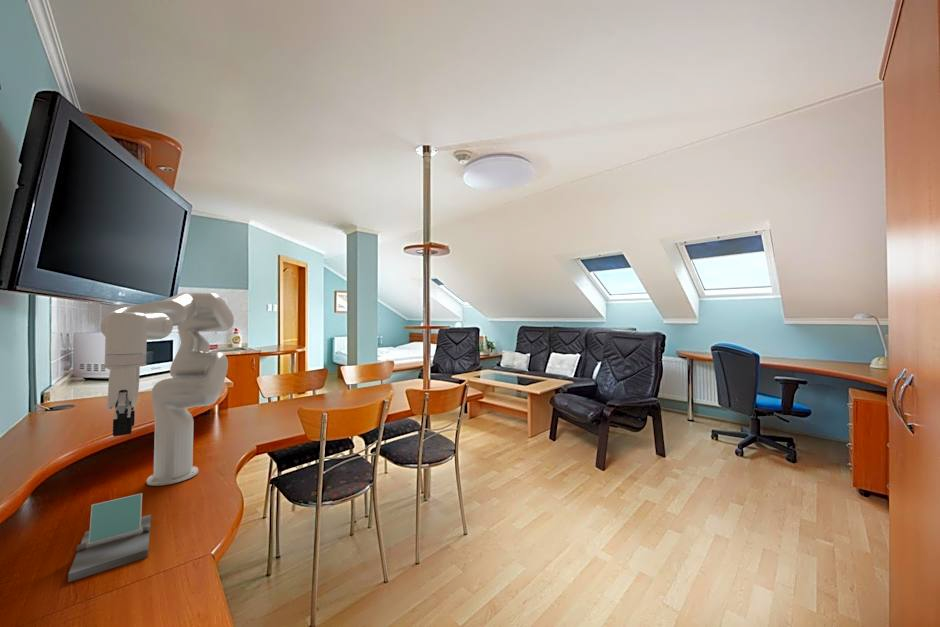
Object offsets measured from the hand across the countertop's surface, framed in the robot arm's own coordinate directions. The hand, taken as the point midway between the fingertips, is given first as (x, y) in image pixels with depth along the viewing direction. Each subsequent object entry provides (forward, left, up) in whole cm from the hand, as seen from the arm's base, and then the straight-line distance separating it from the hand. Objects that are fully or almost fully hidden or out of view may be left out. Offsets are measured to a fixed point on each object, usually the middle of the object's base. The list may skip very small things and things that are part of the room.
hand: (124, 430), depth 88 cm
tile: (+13, 0, -16) cm, 21 cm away
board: (+15, 0, -22) cm, 26 cm away
